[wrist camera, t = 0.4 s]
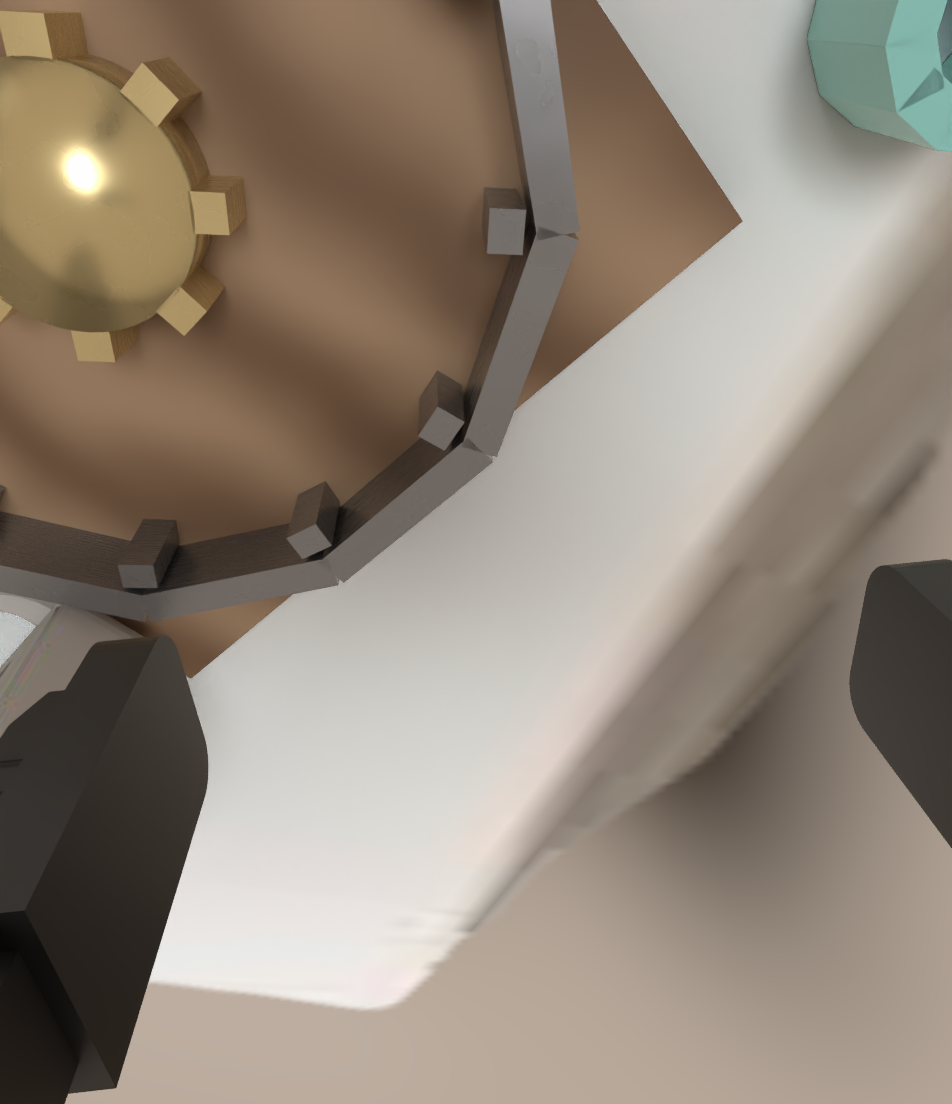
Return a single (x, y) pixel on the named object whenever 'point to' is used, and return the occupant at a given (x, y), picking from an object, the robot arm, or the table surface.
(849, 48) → the teal short hollow cylinder
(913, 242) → the table surface
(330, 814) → the table surface
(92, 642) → the network device
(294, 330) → the carrier plate
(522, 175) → the ring gear
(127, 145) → the sun gear
